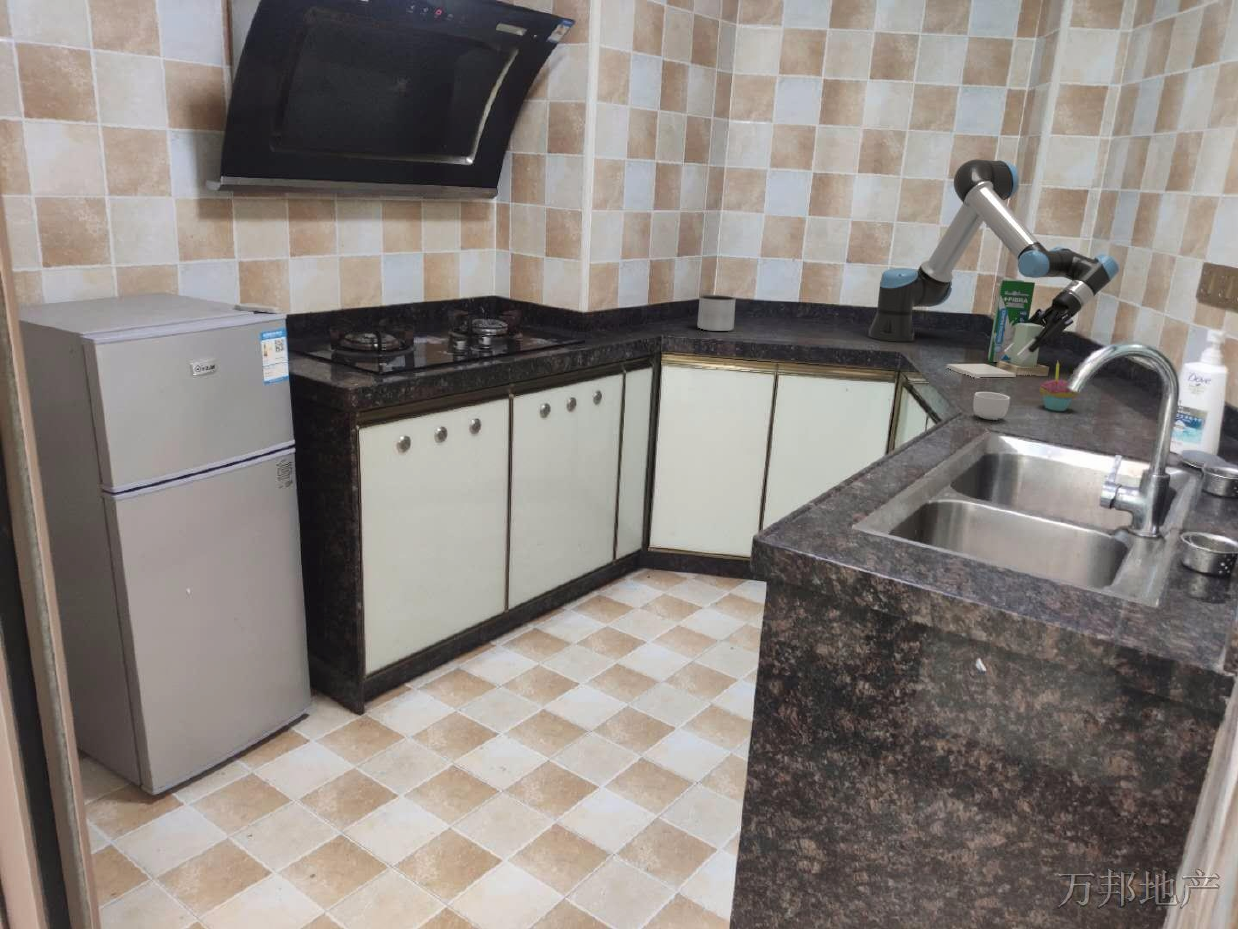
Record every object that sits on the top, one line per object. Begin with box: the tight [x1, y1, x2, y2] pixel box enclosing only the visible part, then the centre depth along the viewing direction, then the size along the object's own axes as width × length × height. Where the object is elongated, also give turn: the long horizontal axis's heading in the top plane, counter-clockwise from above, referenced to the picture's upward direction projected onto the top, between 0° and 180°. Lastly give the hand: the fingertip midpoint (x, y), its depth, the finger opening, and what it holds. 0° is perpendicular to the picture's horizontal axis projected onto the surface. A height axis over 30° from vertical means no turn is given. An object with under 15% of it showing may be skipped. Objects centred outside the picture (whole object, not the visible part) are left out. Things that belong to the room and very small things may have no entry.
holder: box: [995, 361, 1050, 377], centre depth 270 cm, size 10×10×2 cm
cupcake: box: [1039, 360, 1078, 412], centre depth 226 cm, size 9×8×12 cm
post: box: [1010, 323, 1044, 367], centre depth 269 cm, size 5×5×14 cm
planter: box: [696, 294, 736, 332], centre depth 320 cm, size 12×13×11 cm
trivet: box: [946, 363, 1017, 379], centre depth 267 cm, size 14×13×1 cm
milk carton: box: [987, 279, 1036, 363], centre depth 283 cm, size 9×9×25 cm
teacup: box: [972, 391, 1011, 419], centre depth 215 cm, size 10×8×5 cm
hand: (1013, 356), depth 268 cm, fingers closed on post, 5 cm apart
